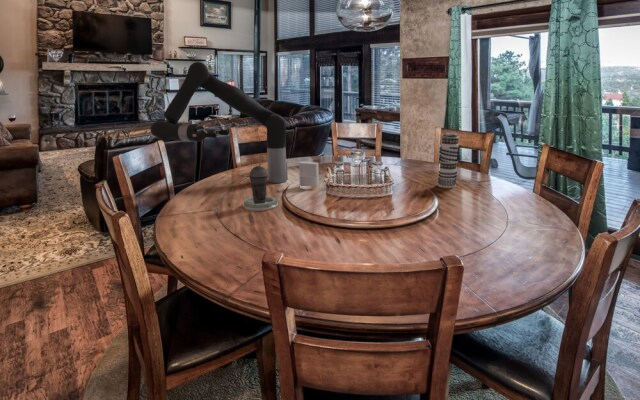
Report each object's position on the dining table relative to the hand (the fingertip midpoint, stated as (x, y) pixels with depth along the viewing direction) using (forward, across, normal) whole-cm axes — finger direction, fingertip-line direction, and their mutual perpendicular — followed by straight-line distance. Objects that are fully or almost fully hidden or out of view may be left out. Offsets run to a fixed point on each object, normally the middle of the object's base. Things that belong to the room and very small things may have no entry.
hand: (222, 134), depth 187 cm
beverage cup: (+21, -7, +27) cm, 35 cm away
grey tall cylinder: (+87, +56, +29) cm, 107 cm away
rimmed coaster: (+21, -7, +28) cm, 36 cm away
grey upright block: (+27, +29, +28) cm, 48 cm away
